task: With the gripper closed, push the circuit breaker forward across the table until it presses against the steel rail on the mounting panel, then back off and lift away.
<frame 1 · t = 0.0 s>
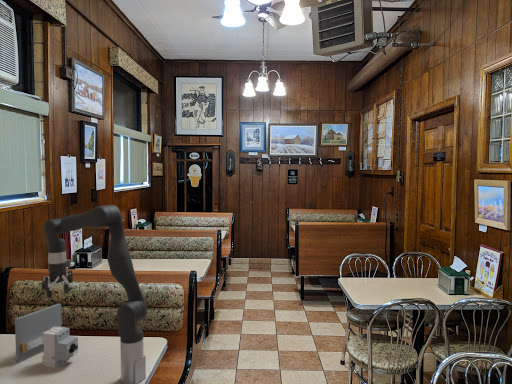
hand: (58, 295, 173), 29 cm above the table, tool pointing down, fingers open, 8 cm apart
mounting panel: (40, 351, 179), on the table
circuit breaker: (62, 363, 168), on the table
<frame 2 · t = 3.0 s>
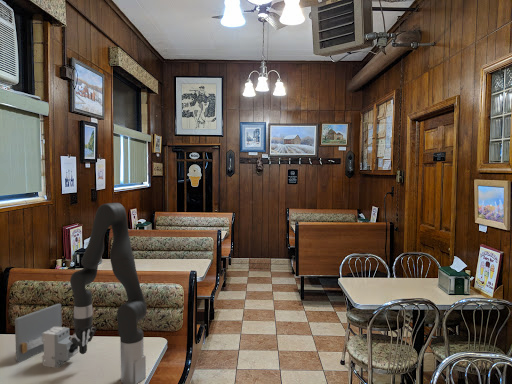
hand: (83, 353, 162), 8 cm above the table, tool pointing down, fingers closed
nothing on the table moved.
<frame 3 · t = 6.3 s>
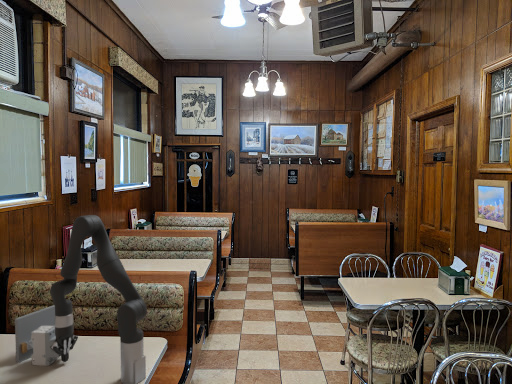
hand: (65, 361, 168), 1 cm above the table, tool pointing down, fingers closed
circuit breaker: (52, 361, 170), on the table, touching hand
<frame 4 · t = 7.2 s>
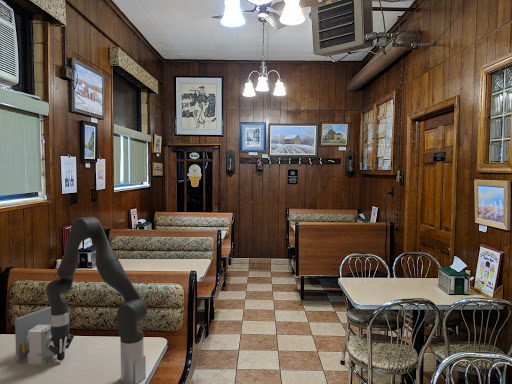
hand: (61, 359, 169), 1 cm above the table, tool pointing down, fingers closed
circuit breaker: (48, 360, 171), on the table, touching hand
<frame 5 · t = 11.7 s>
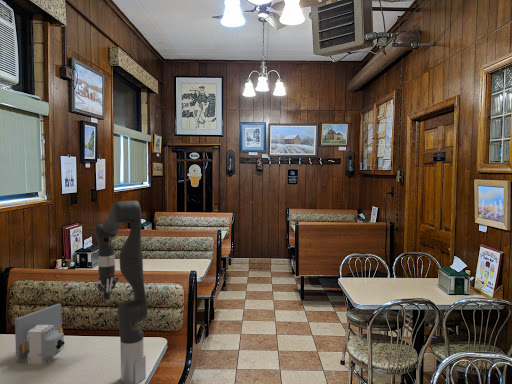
hand: (107, 299, 181), 25 cm above the table, tool pointing down, fingers closed
circuit breaker: (48, 360, 171), on the table
at the end: circuit breaker inside the target area (1.8 cm from its centre), on the table; circuit breaker tilted 0° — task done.
